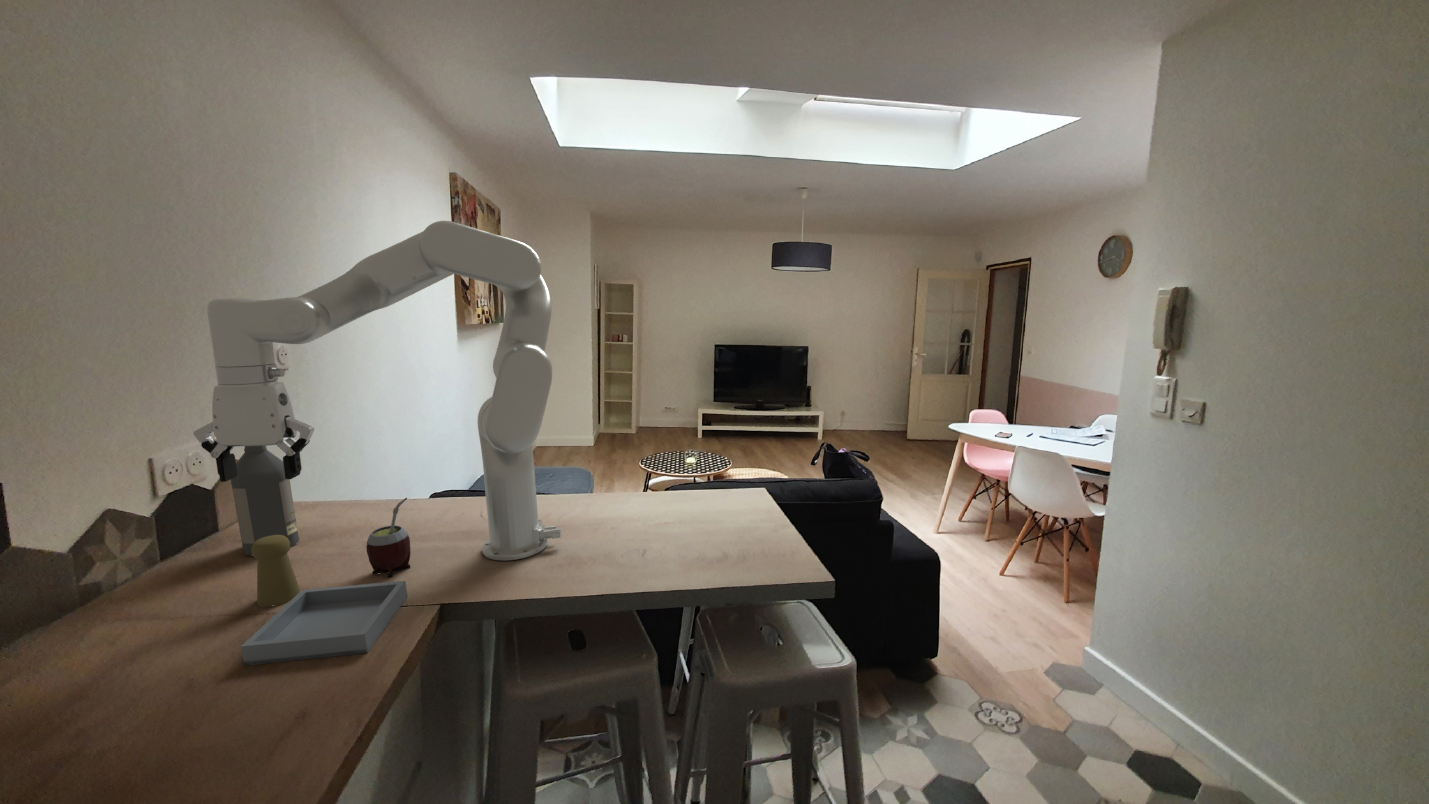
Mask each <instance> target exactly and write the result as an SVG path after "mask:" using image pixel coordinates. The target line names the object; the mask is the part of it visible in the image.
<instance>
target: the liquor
mask: <svg viewBox="0 0 1429 804" xmlns="http://www.w3.org/2000/svg"><path fill="white" fill-rule="evenodd" d="M243 451H244V453H243V454H242V455H241V456H240V458H239V459H238V460H237V461H236V467H237V477H235V478H233V479H230V483H231V484H230V485H231V489H232V495H233V500H234V506H235V511H236V517H237V523H238V529H239V534H240V540H241V547H242V551H243V553H244V555H245V556H247V555H252V552H251V549H252V545H253V543H254V542H256V541H257V540H259V539H261V538H263V537H267V536H271V535H283V536H285V537H287V538H288V539H289V541H290V547H291V546H292V547H294V546H296V545H297V544H298V543H299V541H300V537H299V532H298V524H297V518H296V511H295V504H294V498H293V493H292V487H291V486H292V485H291V479H286V478H285V472H284V464H283V459H281V458H279V457H278V456H276V454H274V453H272V452H271V451H270V450H268V449H267V446H244V448H243ZM296 543H297V544H296ZM295 544H296V545H295ZM293 545H294V546H293ZM292 547H291V548H292Z"/></svg>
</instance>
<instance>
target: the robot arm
mask: <svg viewBox="0 0 1429 804" xmlns="http://www.w3.org/2000/svg"><path fill="white" fill-rule="evenodd" d="M454 274H455V275H458V276H461V277H465V278H468V279H470V280H471V279H472V280H475V281H479V282H484V283H487V284H491V285H494V286H495V287H497V288H498V289H499V290H500V291H501V293H502V295H503V297H504V300H505V312H504V317H503V322H502V323H503V324H502V328H501V332H500V335H499V341H498V344H497V348H496V351H495V356H494V358H493V361H492V371H493V374H494V376H495V378H496V379H495V384H494V388H493V391H492V396H491V397H489V398H487V399H486V400H485V401H484V402H483V403H482V405H481V406H480V408H479V411H478V414H477V431H478V438H479V443H480V450H481V451H480V452H481V459H482V466H483V467H482V469H483V480H484V482H483V483H484V493H485V501H486V502H485V503H486V504H485V505H486V514H487V524H488V525H487V526H488V533H489V534H488V536H489V539H488V540H486V541H485V543H483V544H482V547H481V548H482V554H483V556H484V557H485V558H487V559H490V560H493V561H503V562H504V561H515V560H520V559H525V558H529V557H532V556H534V555H536V554H538V553H540V552H542V551H543V550H544V549H545V548H546V547H547V546H548V542H549V540H548V539H553V540H555V539H561V538H562V528H557V525H549V526H545V525H543V523H542V519H539V515H538V514H539V513H538V503H537V502H538V501H537V500H538V499H537V488H536V487H537V486H536V474H535V472H536V471H535V459H534V458H535V457H534V450H533V444H534V442H535V441H536V440H537V438H538V436H539V433H540V431H541V430H540V429H541V427H542V423H543V420H544V416H545V415H544V414H545V411H546V407H547V403H548V399H549V396H550V395H549V394H550V390H551V385H552V380H553V365H552V362H551V359H550V356H548V354H547V352H546V345H547V341H548V338H549V336H548V335H549V330H550V325H551V320H552V313H553V312H552V308H553V307H552V299H551V294H550V291H549V288H548V286H547V284H546V281H545V279H544V278H543V276H542V262H541V259H540V256H539V254H538V253H537V252H536V251H535V250H534V249H533V248H532V247H531V246H530V245H528V244H526V243H524V242H522V241H519V240H516V239H512V238H509V237H506V236H502V235H498V234H495V233H493V232H492V233H491V232H489V231H485V230H482V229H478V228H475V227H472V226H469V225H465V224H462V223H458V222H455V221H451V220H439V221H438V220H437V221H435V222H433V223H431V224H429V225H427V226H426V227H425V229H424V230H423V231H421V232H418V233H416V234H414V235H412V236H410V237H408V238H406V239H404V240H402V241H400V242H397V243H395V244H393V245H392V246H391V245H390V246H389V247H387V248H384V249H381V250H380V251H378V252H375V253H373V254H370V255H368V256H367V257H365V258H363V259H362V260H360V261H358V262H357V263H356V264H355V265H354V266H352V268H350V269H349V270H348V271H346V272H345V273H343V274H342V275H340V276H339V277H337V278H335V279H333V280H331V281H329V282H326V283H325V284H323V285H321V286H318V287H317V288H314V289H312V290H310V291H308V292H305V293H304V294H301V295H298V296H296V297H295V296H293V297H292V296H291V297H284V298H283V297H282V298H274V299H261V300H260V299H258V298H242V297H240V298H233V297H231V298H229V297H228V298H215V299H212V300H210V301H209V302H208V303H207V306H206V311H207V320H208V325H209V326H208V327H209V334H210V339H211V345H212V353H213V354H212V355H213V360H214V366H215V373H216V381H217V385H215V386H214V388H213V392H212V393H213V394H212V400H211V401H212V403H211V404H212V405H211V407H212V408H211V409H212V410H211V412H212V413H211V414H212V417H211V418H212V421H211V422H210V423H207V424H206V425H203V426H202V427H200V428H198V429H196V430H194V431H193V436H194V437H195V438H196V440H197V441H198V442H199V443H200V446H201V447H202V449H204V450H205V451H206V452H208V453H209V454H210V457H211V458H212V459H215V462H216V471H217V474H218V475H219V476H218V477H219V480H220V481H219V482H221V483H226V482H228V481H231V479H233V478H235V477H237V467H236V463H237V461H236V455H235V454H234V452H232V453H231V451H232V450H234V447H245V446H266V447H267V446H276V447H278V448H279V449H280V451H282V452H283V453H284V454H285V455H284V456H283V457H282V461H283V464H284V472H285V478H286V479H290V480H292V479H295V478H296V477H298V476H300V474H301V471H302V468H303V467H302V462H301V460H302V459H301V452H302V451H303V450H304V448H305V447H306V446H308V445H309V443H310V441H311V438H312V436H313V434H314V432H315V427H314V426H312V425H310V424H307V423H306V422H303V421H300V420H297V419H296V418H295V414H294V411H293V406H292V402H291V399H290V396H289V393H288V391H287V388H286V385H285V383H284V382H281V381H280V382H278V380H279V377H281V378H282V377H285V369H284V368H279V367H278V366H277V364H276V361H275V353H274V346H273V345H274V344H273V343H276V344H287V345H303V344H307V343H311V342H313V341H315V340H317V339H319V338H321V337H324V336H325V335H327V334H329V333H331V332H333V331H336V330H337V329H339V328H341V327H343V326H346V325H347V324H350V323H351V322H353V321H354V322H355V321H356V320H357V319H360V318H362V317H364V316H365V315H368V314H370V313H372V312H375V311H378V310H382V309H385V308H388V307H390V306H392V305H395V304H396V303H398V302H401V301H402V300H404V299H406V298H409V297H410V296H412V295H414V294H416V293H418V292H420V291H422V290H424V289H427V288H428V287H431V286H432V285H434V284H436V283H438V282H440V281H443V280H445V279H447V278H448V277H449V278H450V277H451V276H452V275H454ZM297 432H298V433H299V436H298V437H299V438H298V439H297V440H296V439H295V438H296V437H297ZM212 433H213V435H214V439H213V437H212V435H211V434H212Z"/></svg>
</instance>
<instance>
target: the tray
mask: <svg viewBox="0 0 1429 804" xmlns="http://www.w3.org/2000/svg"><path fill="white" fill-rule="evenodd" d="M406 583H407V582H406V580H401V581H400V580H399V581H388V582H387V581H386V582H376V583H366V584H365V583H364V584H354V585H353V584H352V585H344V586H343V585H342V586H341V585H340V586H329V587H318V588H307V589H301V590H300V591H301V592H300V593H298V594H297V595H296V596H295V597H294V598H293V599H292V600H291V601H290V602H287V603H285V605H284V606H283V607H282V608H281V609H280V610H279V611H277V613H276V614H274V615H273V616H272V617H271V618H270V619H269V620H268V621H267V622H266V623H265V624H264V625H263V626H261V627H260V628H259V629H258V630H257V631H256V632H255V633H254V634H252V636H250V637H249V638H248V639H247V640H246V641H245V642H244V643H243V644H242V645H240V649H241V654H242V661H243V664H244V665H243V666H244V667H246V666H254V665H257V666H258V665H264V664H275V663H285V662H292V661H293V662H294V661H305V660H313V659H322V658H331V657H344V656H350V655H362V654H368V653H369V652H370V650H371V649H372V648H373V646H374V645H375V643H376V642H377V641H378V639H379V638H380V636H381V635H382V634H383V633H384V630H385V629H386V628H387V627H388V625H389V624H390V622H391V621H392V619H393V618H394V617H395V615H396V614H397V612H398V611H399V609H400V608H401V607H402V606H403V604H404V602H405V601H406V599H407V598H408V592H407V584H406Z"/></svg>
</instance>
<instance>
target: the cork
mask: <svg viewBox="0 0 1429 804" xmlns="http://www.w3.org/2000/svg"><path fill="white" fill-rule="evenodd" d="M289 551H290V541H289V539H288V538H287V537H285V536H283V535H271V536H267V537H263V538H261V539H259V540H257V541H256V542H254V543H253V545H252V549H251V552H252V555H253V556H252V557H253V558H254V559H255V560H256V561H257V562H256V563H257V564H256V569H257V571H256V572H257V574H256V575H257V578H256V579H257V581H256V582H257V583H256V584H257V587H256V591H257V592H256V595H257V596H256V599H257V601H256V604H258V605H259V606H258V605H257V606H258V607H261V606H262V607H261V608H267V607H266V606H272V605H277V606H280V604H281V605H283V604H282V603H284V604H288V603H289V602H288V601H291V600H292V599H293V598H294V597H295V596H296V595H297V594H298V593H300V591H301V589H300V586H299V582H298V580H297V577H296V575H295V572H294V569H293V566H292V563H291V560H290V557H289V554H288V553H289ZM264 606H265V607H264ZM272 607H273V606H272Z"/></svg>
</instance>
